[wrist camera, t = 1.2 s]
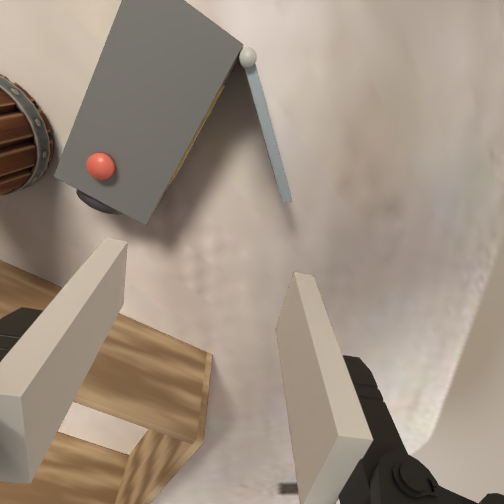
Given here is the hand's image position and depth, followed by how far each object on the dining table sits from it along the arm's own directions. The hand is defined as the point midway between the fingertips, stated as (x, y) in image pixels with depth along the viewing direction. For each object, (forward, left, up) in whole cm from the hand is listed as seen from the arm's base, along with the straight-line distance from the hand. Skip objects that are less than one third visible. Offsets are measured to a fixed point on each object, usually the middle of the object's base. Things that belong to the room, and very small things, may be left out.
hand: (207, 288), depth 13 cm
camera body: (-1, -8, -23) cm, 24 cm away
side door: (-5, +1, -23) cm, 23 cm away
